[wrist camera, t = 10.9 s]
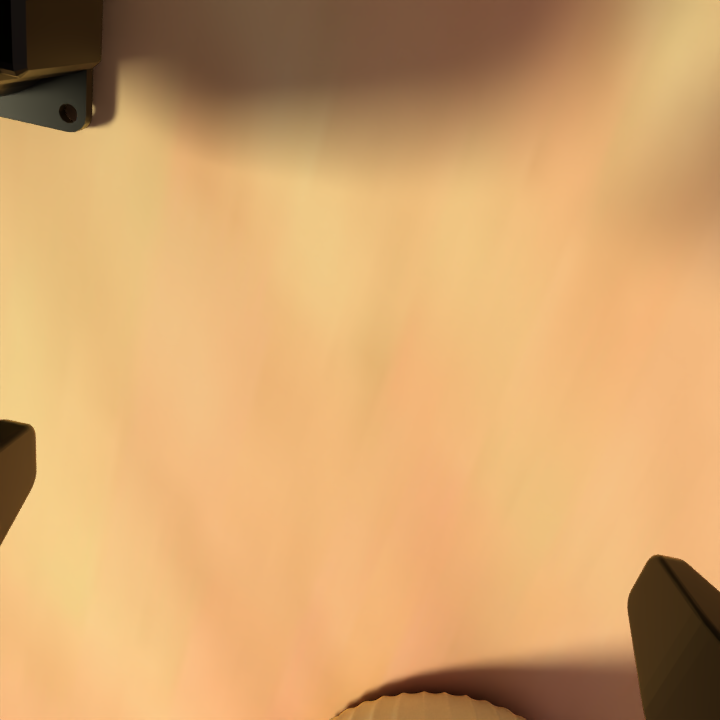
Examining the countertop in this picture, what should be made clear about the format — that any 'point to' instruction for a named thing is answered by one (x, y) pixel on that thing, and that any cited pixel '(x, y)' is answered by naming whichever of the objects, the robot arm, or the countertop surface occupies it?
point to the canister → (427, 708)
